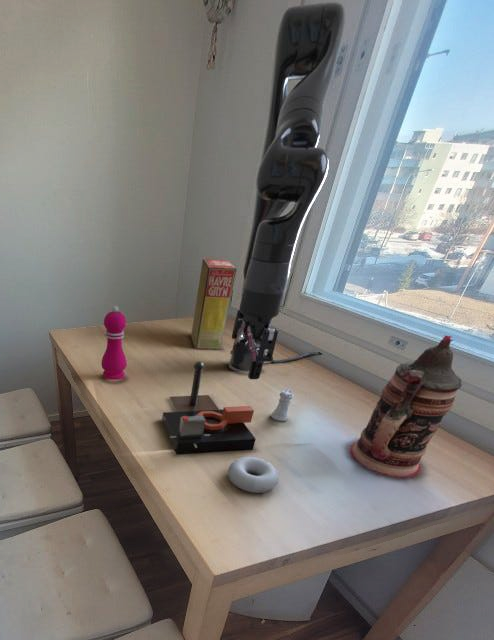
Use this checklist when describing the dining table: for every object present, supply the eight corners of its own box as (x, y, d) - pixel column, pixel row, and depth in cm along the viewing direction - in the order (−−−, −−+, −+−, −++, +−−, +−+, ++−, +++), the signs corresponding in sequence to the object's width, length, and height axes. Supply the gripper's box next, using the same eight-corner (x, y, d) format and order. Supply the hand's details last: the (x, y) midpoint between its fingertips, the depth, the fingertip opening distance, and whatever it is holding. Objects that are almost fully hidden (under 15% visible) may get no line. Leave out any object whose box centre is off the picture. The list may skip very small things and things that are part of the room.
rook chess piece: (287, 418, 106) (297, 389, 101) (287, 426, 102) (297, 397, 97) (269, 415, 107) (278, 386, 102) (268, 423, 104) (277, 393, 98)
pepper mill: (123, 384, 118) (126, 310, 105) (98, 382, 119) (98, 308, 106) (127, 374, 123) (131, 303, 110) (104, 372, 124) (105, 300, 111)
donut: (265, 466, 89) (220, 467, 88) (270, 453, 87) (224, 453, 86) (283, 496, 82) (234, 496, 81) (288, 482, 80) (238, 483, 79)
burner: (221, 412, 101) (221, 412, 101) (235, 431, 94) (235, 431, 94) (186, 414, 100) (186, 413, 100) (197, 433, 93) (197, 433, 93)
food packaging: (222, 349, 141) (237, 267, 125) (194, 349, 141) (206, 266, 125) (215, 336, 152) (229, 259, 135) (190, 335, 152) (200, 258, 135)
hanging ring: (200, 430, 94) (203, 418, 92) (191, 415, 99) (193, 403, 97) (254, 427, 96) (258, 415, 94) (243, 413, 101) (246, 401, 99)
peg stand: (208, 398, 113) (216, 353, 105) (220, 416, 106) (230, 369, 98) (169, 399, 112) (174, 354, 104) (178, 418, 104) (185, 370, 96)
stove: (230, 419, 104) (233, 408, 102) (256, 455, 92) (259, 443, 90) (157, 423, 102) (158, 411, 100) (173, 460, 90) (175, 448, 88)
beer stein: (389, 449, 100) (320, 445, 98) (453, 328, 85) (373, 318, 83) (439, 485, 87) (360, 481, 84) (526, 348, 71) (433, 338, 69)
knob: (199, 433, 93) (203, 414, 90) (202, 437, 92) (205, 418, 88) (178, 434, 92) (181, 415, 89) (180, 439, 91) (183, 419, 88)
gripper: (302, 296, 72) (276, 384, 83) (266, 277, 83) (247, 357, 94) (262, 296, 71) (241, 385, 82) (231, 277, 82) (216, 358, 92)
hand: (244, 370), depth 88 cm, fingers open, 8 cm apart
